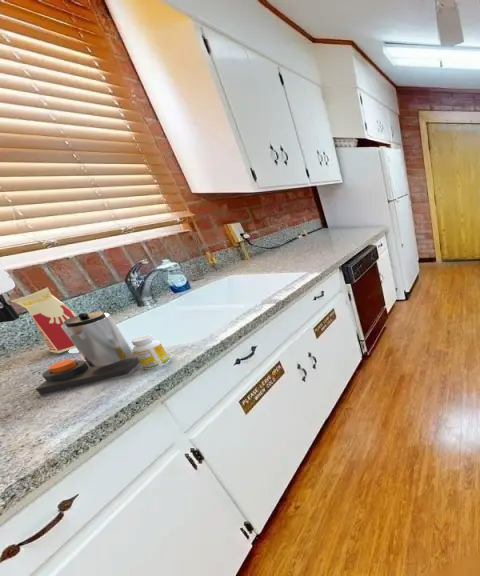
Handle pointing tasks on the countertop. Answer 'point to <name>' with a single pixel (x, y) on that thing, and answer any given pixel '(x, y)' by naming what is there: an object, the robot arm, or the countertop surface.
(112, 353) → the kettle
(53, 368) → the power button
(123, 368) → the push button panel
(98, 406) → the countertop surface
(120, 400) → the countertop surface
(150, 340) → the supplement bottle
